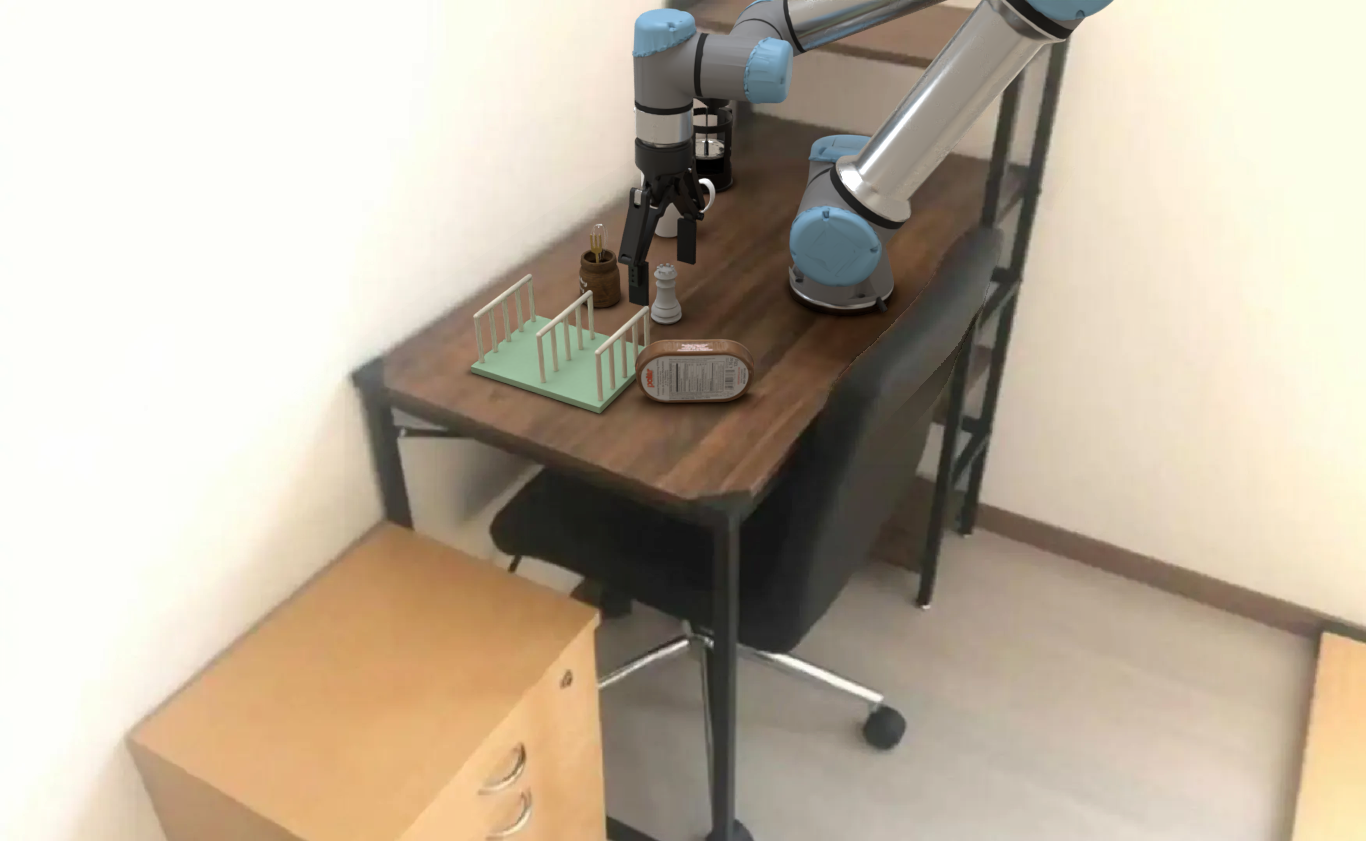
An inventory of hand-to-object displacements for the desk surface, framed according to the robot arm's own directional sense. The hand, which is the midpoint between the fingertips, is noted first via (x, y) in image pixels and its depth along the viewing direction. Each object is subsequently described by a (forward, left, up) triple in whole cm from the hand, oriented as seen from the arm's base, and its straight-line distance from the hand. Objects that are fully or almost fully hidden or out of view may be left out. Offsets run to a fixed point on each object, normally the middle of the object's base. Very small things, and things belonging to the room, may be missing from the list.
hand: (663, 282), depth 157 cm
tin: (-13, +16, -6) cm, 22 cm away
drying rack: (+6, +17, -6) cm, 19 cm away
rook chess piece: (0, 0, -6) cm, 6 cm away
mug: (+11, -24, -6) cm, 27 cm away
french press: (+16, -44, -6) cm, 47 cm away
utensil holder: (+11, 0, -6) cm, 12 cm away
